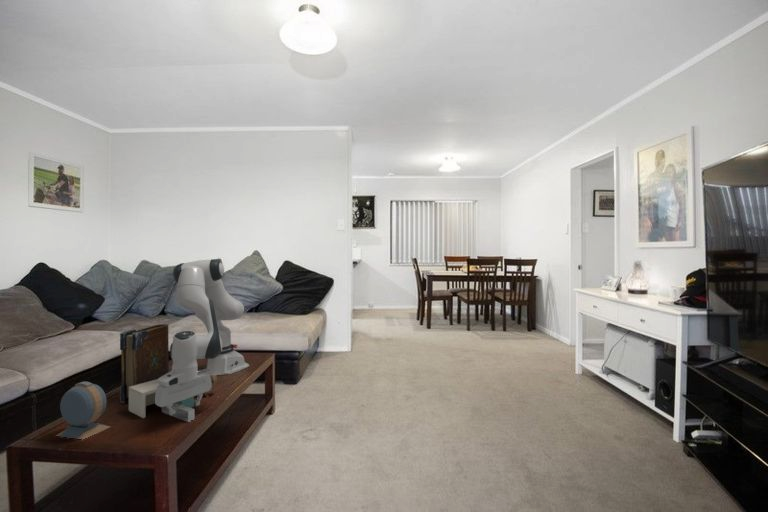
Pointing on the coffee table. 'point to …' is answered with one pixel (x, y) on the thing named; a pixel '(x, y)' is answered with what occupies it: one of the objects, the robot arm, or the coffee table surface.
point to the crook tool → (181, 412)
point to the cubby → (142, 397)
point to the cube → (187, 402)
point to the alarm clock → (83, 410)
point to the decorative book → (143, 356)
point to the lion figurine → (212, 383)
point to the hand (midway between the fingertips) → (185, 409)
